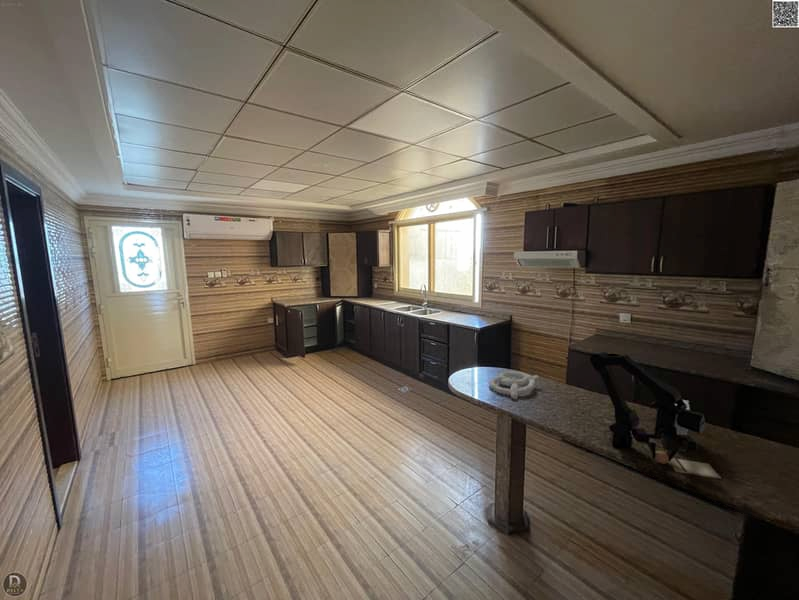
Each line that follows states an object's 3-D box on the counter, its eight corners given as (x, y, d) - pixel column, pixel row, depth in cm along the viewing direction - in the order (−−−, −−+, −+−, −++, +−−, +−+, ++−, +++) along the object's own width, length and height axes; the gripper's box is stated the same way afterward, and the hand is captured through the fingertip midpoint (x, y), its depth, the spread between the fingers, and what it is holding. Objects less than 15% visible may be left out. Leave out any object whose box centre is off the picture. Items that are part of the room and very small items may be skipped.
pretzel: (520, 405, 173) (519, 394, 172) (482, 392, 191) (481, 382, 190) (545, 384, 190) (544, 374, 189) (508, 374, 208) (508, 365, 207)
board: (675, 471, 118) (675, 469, 118) (666, 458, 126) (666, 456, 126) (720, 479, 114) (721, 477, 114) (708, 465, 121) (708, 463, 121)
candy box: (667, 431, 144) (671, 396, 141) (684, 436, 140) (689, 400, 138) (667, 446, 133) (671, 408, 131) (686, 451, 130) (691, 413, 127)
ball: (655, 464, 122) (657, 454, 121) (651, 457, 126) (652, 447, 125) (670, 467, 121) (671, 456, 120) (665, 460, 125) (666, 449, 124)
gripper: (643, 427, 116) (639, 467, 119) (709, 437, 110) (703, 478, 113) (633, 413, 127) (629, 450, 129) (692, 420, 121) (687, 459, 123)
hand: (660, 459), depth 123 cm, fingers closed on ball, 4 cm apart
